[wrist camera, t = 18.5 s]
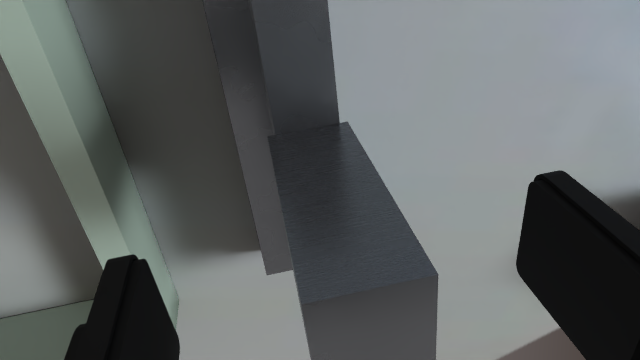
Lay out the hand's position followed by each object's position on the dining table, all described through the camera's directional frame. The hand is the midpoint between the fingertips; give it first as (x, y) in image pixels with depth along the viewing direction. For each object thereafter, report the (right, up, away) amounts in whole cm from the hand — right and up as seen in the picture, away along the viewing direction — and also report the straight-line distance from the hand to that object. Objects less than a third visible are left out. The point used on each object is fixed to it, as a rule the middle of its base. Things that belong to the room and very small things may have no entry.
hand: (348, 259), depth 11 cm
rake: (-2, +5, +9) cm, 10 cm away
